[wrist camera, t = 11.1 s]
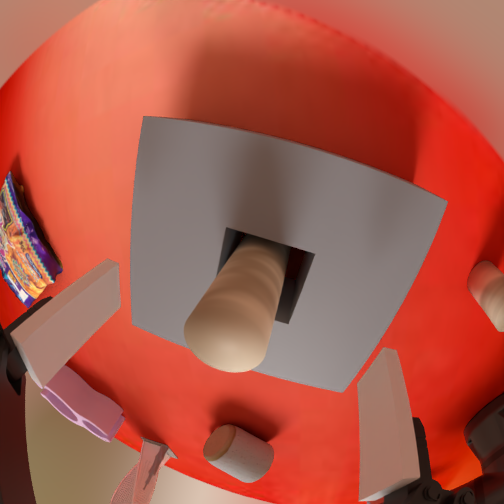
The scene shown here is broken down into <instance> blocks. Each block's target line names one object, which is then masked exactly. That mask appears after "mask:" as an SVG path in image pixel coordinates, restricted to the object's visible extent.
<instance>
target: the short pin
mask: <svg viewBox="0 0 504 504" xmlns="http://www.w3.org/2000/svg"><path fill="white" fill-rule="evenodd" d="M467 286H468V290H469V291H470V293H471V294H472V295H473V297H474V298H475V299H476V301H477V302H478V303H479V305H480V306H481V307H482V309H483V310H484V311H485V313H486V314H487V316H488V317H489V318H490V320H491V321H492V323H493V324H494V326H495V327H496V329H497V330H498V331H500V332H504V274H503V273H502V272H501V271H500V270H499V269H498V268H497V267H496V266H495V265H494V264H492V263H491V262H490V261H487V260H486V261H481V262H479V263H478V264H477V265H476V266H475V267H474V268H473V269H472V271H471V272H470V274H469V277H468V281H467Z"/></svg>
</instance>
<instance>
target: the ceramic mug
mask: <svg viewBox="0 0 504 504" xmlns="http://www.w3.org/2000/svg"><path fill="white" fill-rule="evenodd" d="M203 454H204V457H205V459H206V460H207V461H208V462H210V463H211V464H212V465H214V466H215V467H217V468H219V469H221V470H223V471H224V472H226V473H228V474H230V475H231V476H233V477H235V478H237V479H239V480H241V481H243V482H246V483H251V482H254V481H256V480H258V479H260V478H261V477H263V476H264V475H265V473H266V472H267V471H268V470H269V468H270V466H271V464H272V462H273V459H274V450H273V448H272V446H271V445H270V444H268V443H266V442H264V441H262V440H261V439H259V438H257V437H255V436H253V435H251V434H249V433H248V432H246V431H244V430H243V429H241V428H239V427H236V426H234V425H230V424H227V425H223V426H221V427H219V428H217V429H216V430H215V431H214V432H213V433H212V434H211V435H210V437H209V438H208V439H207V441H206V443H205V445H204V449H203Z"/></svg>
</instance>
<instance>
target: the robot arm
mask: <svg viewBox="0 0 504 504" xmlns="http://www.w3.org/2000/svg"><path fill="white" fill-rule="evenodd" d="M120 307H121V301H120V284H119V263H117V262H115V261H112V260H110V259H106V260H105V261H103V262H102V263H100V264H99V265H97V266H96V267H95V268H93V269H92V270H90V271H89V272H87V273H86V274H85V275H83V276H82V277H81V278H79V279H78V280H76V281H75V282H74V283H72V284H71V285H70V286H68V287H67V288H66V289H64V290H63V291H62V292H60V293H59V294H58V295H57V296H55V297H54V298H52V297H51V296H50V297H47V298H44V299H42V300H40V301H39V302H37V303H36V304H35V305H34V306H33V307H31V308H30V309H28V310H27V312H25V313H23V314H22V315H21V316H20V317H19V318H17V319H16V320H15V321H14V322H13V323H11V324H10V325H9V326H8V327H7V328H5V329H4V330H3V328H2V326H1V324H0V504H36V501H35V496H34V491H33V486H32V481H31V475H30V469H29V462H28V453H27V443H26V428H25V385H26V377H25V372H26V371H27V370H28V372H29V374H30V376H31V377H32V379H33V380H34V381H35V382H36V383H38V384H39V385H40V386H41V387H42V388H44V387H45V385H46V384H47V383H48V382H49V381H50V380H51V379H52V378H53V377H54V375H55V374H56V373H57V372H58V371H59V370H60V369H61V368H62V367H63V366H64V365H65V363H66V362H67V361H68V360H69V359H70V358H71V357H72V356H73V355H74V354H75V353H76V352H77V351H78V350H79V349H80V348H81V346H82V345H83V344H84V343H85V342H86V341H87V340H88V339H89V338H90V337H91V336H92V335H93V334H94V333H95V332H96V331H97V330H98V329H99V328H100V327H101V326H102V325H103V324H104V323H105V322H106V321H107V320H108V319H109V318H110V317H111V316H112V315H113V314H114V313H115V312H116V311H117V310H118V309H119V308H120ZM357 388H358V404H359V426H360V483H359V501H375V500H377V499H380V498H382V497H384V502H382V503H380V504H504V394H502V395H501V396H499V397H498V398H496V399H495V400H494V401H492V402H491V403H490V404H488V405H487V406H486V407H485V408H483V409H482V410H481V411H480V412H479V413H478V414H477V415H476V416H475V417H474V418H473V419H472V420H471V421H470V422H469V423H468V425H467V426H466V428H465V430H464V436H465V440H466V443H467V445H468V446H469V447H470V449H471V450H472V452H473V453H474V454H475V456H476V457H477V458H478V460H479V461H480V463H481V468H482V474H483V475H481V476H480V477H478V478H476V479H474V480H472V481H470V482H468V483H466V484H464V485H461V486H459V487H457V488H455V489H452V490H450V491H448V490H444V489H442V487H441V485H440V484H439V483H438V482H437V481H435V480H432V476H431V468H430V461H429V454H428V448H427V441H426V440H425V438H426V435H425V430H424V426H423V425H422V423H421V421H420V419H419V418H416V417H412V414H411V409H410V404H409V399H408V395H407V390H406V386H405V381H404V377H403V373H402V369H401V365H400V361H399V357H398V354H397V350H394V349H389V348H385V347H383V349H382V350H381V352H380V353H379V354H378V356H377V357H376V359H375V360H374V362H373V363H372V364H371V366H370V367H369V369H368V370H367V371H366V373H365V374H364V375H363V377H362V378H361V379H360V381H359V382H358V383H357Z"/></svg>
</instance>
